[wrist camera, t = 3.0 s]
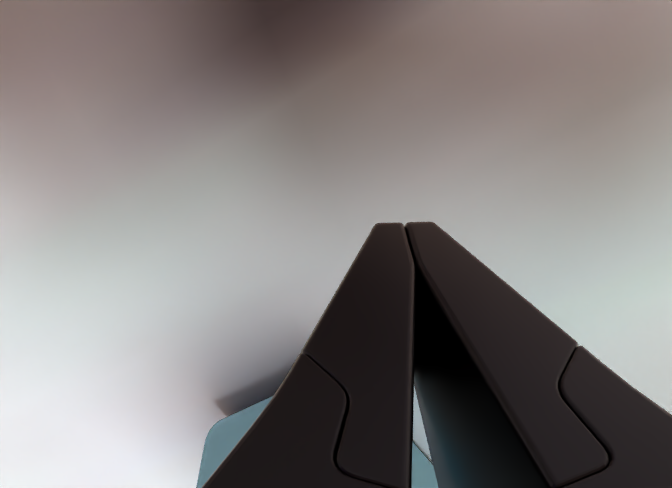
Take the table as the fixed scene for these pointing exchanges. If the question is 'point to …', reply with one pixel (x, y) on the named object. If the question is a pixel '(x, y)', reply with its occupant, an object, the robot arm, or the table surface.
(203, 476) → the data package
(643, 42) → the table surface
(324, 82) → the table surface
